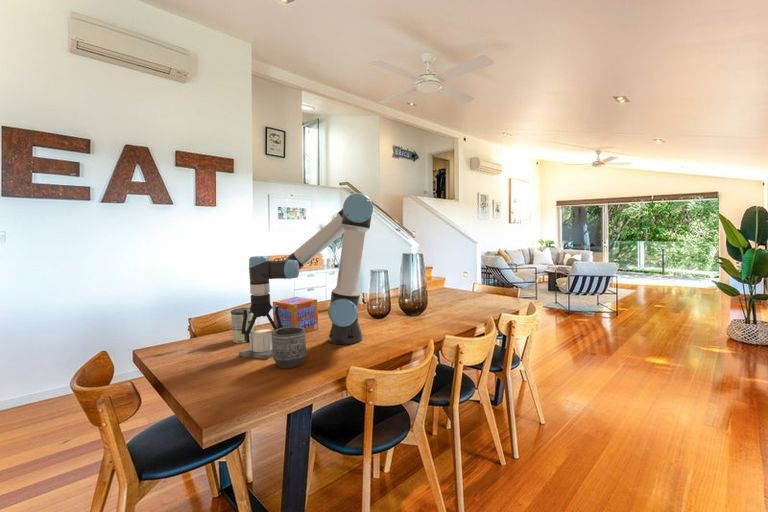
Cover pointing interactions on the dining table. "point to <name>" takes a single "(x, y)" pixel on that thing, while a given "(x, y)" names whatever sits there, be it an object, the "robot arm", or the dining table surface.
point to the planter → (289, 346)
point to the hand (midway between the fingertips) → (262, 348)
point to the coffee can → (240, 324)
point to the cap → (261, 340)
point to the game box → (297, 313)
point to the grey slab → (256, 354)
